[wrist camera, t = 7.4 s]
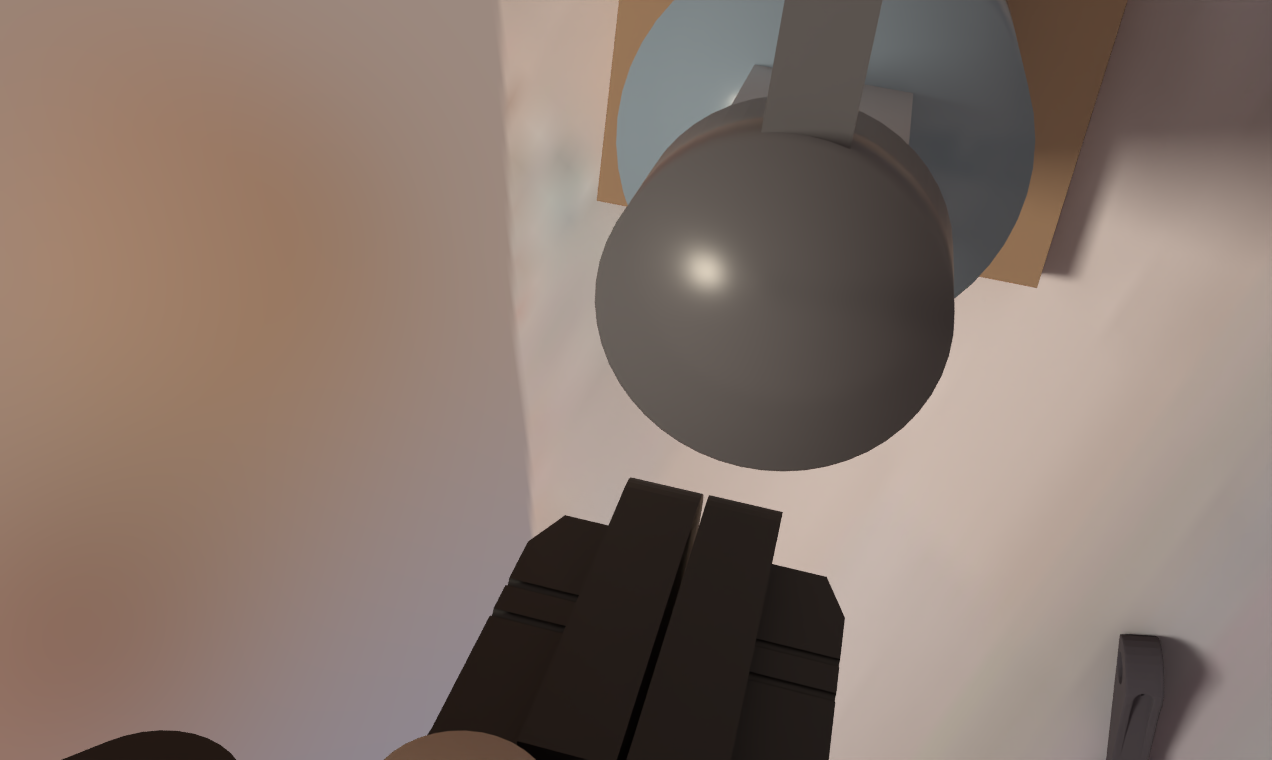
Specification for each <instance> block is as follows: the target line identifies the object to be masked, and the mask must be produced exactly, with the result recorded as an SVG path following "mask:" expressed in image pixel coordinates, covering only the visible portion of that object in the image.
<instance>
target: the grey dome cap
mask: <svg viewBox="0 0 1272 760" xmlns="http://www.w3.org/2000/svg"><path fill="white" fill-rule="evenodd" d="M882 1H883V0H785V1H784V6H783V12H782V18H781V23H780V29H779V35H778V40H777V46H776V51H775V57H774V63H773V68H772V74H771V79H770V85H769V91H768V96H767V97H762V98H756V99H751V100H747V101H744V102H740V103H737V104H733V105H730V106H728V107H726V108H723V109H721V110H719V111H716V112H714V113H712V114H710V115H709V116H707V117H705V118H704V119H702V120H700V121H699V122H697V123H695V124H694V125H693V126H691V127H690V128H689V129H688V130H686V131H685V132H684V133H683V134H681V135H680V136H679V137H678V138H677V139H676V140H675V141H674V142H673V143H672V144H671V145H670V146H669V147H668V148H667V149H666V151H665V152H664V153H663V154H662V156H661V157H660V159H659V160H658V161H657V163H656V164H655V166H654V167H653V168H652V170H651V171H650V173H649V174H648V176H647V177H646V179H645V180H644V182H643V183H642V185H641V186H640V188H639V189H638V191H637V192H636V194H635V195H634V197H633V198H632V200H631V201H630V203H629V204H628V206H627V207H626V209H625V210H624V212H623V213H622V215H621V216H620V218H619V219H618V221H617V222H616V224H615V226H614V228H613V230H612V232H611V234H610V236H609V238H608V240H607V242H606V245H605V248H604V251H603V254H602V256H601V259H600V263H599V268H598V274H597V279H596V291H595V308H596V319H597V326H598V330H599V335H600V339H601V343H602V346H603V349H604V351H605V354H606V357H607V359H608V362H609V364H610V366H611V368H612V370H613V372H614V374H615V376H616V377H617V379H618V381H619V383H620V384H621V386H622V387H623V389H624V390H625V391H626V393H627V394H628V396H629V397H630V399H631V400H632V401H633V402H634V403H635V404H636V405H637V407H638V408H639V409H640V410H641V411H642V412H643V413H644V414H645V415H646V416H647V417H648V418H649V419H650V420H651V421H652V422H654V423H655V424H656V425H657V426H658V427H659V428H660V429H661V430H663V431H664V432H666V433H667V434H669V435H670V436H672V437H673V438H674V439H676V440H677V441H679V442H680V443H682V444H684V445H686V446H688V447H690V448H691V449H693V450H695V451H697V452H699V453H701V454H704V455H706V456H709V457H711V458H714V459H716V460H719V461H722V462H726V463H729V464H733V465H736V466H740V467H746V468H752V469H758V470H768V471H798V470H809V469H815V468H821V467H826V466H830V465H833V464H837V463H840V462H844V461H847V460H849V459H852V458H854V457H856V456H859V455H861V454H863V453H866V452H868V451H870V450H871V449H873V448H875V447H876V446H878V445H880V444H882V443H883V442H885V441H887V440H888V439H889V438H890V437H892V436H893V435H894V434H896V433H897V432H898V431H899V430H901V429H902V428H903V427H904V426H905V425H906V424H907V423H908V422H909V421H910V420H911V419H912V418H913V417H914V416H915V415H916V414H917V413H918V412H919V411H920V409H921V408H922V407H923V405H924V404H925V403H926V401H927V400H928V398H929V397H930V396H931V394H932V392H933V391H934V389H935V387H936V385H937V383H938V381H939V379H940V378H941V376H942V373H943V370H944V368H945V365H946V362H947V359H948V357H949V353H950V348H951V343H952V338H953V330H954V261H953V239H952V228H951V223H950V219H949V214H948V210H947V206H946V204H945V201H944V199H943V196H942V194H941V191H940V189H939V186H938V185H937V183H936V181H935V179H934V178H933V176H932V174H931V172H930V171H929V169H928V167H927V166H926V165H925V163H924V162H923V161H922V160H921V158H920V157H919V156H918V154H917V153H916V152H915V151H914V150H913V149H912V148H911V147H910V146H909V145H908V144H907V143H906V142H905V141H904V140H903V139H902V138H901V137H900V136H899V135H898V134H896V133H895V132H893V131H892V130H891V129H889V128H888V127H887V126H885V125H884V124H883V123H881V122H880V121H878V120H876V119H874V118H872V117H871V116H869V115H867V114H865V113H863V112H861V111H859V107H860V102H861V98H862V93H863V88H864V84H865V79H866V75H867V70H868V65H869V61H870V56H871V52H872V47H873V42H874V38H875V33H876V29H877V24H878V19H879V15H880V10H881V6H882Z"/></svg>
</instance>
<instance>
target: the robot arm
mask: <svg viewBox="0 0 1272 760" xmlns="http://www.w3.org/2000/svg"><path fill="white" fill-rule="evenodd" d="M702 504H703V494H700V493H696V492H692V491H687V490H683V489H679V488H674V487H670V486H666V485H661V484H657V483H653V482H648V481H644V480H640V479H635V478H630V479H629V480H628V482H627V484H626V486H625V488H624V490H623V493H622V495H621V498H620V500H619V502H618V505H617V507H616V509H615V512H614V514H613V516H612V519H611V521H610V523H609V526H608V525H604V524H600V523H595V522H591V521H587V520H583V519H578V518H574V517H570V516H566V515H565V516H563V517H562V518H561V519H559V520H558V521H556V522H555V523H554V524H552V525H551V526H549V527H548V528H547V529H545V530H544V531H542V532H541V533H540V534H538V535H537V536H535V537H534V538H533V539H531V540H530V541H528V543H527V545H526V547H525V549H524V551H523V553H522V554H521V556H520V558H519V560H518V562H517V564H516V566H515V568H514V570H513V572H512V574H511V576H510V578H509V582H508V585H506V586H505V587H504V589H503V591H502V593H501V595H500V597H499V599H498V601H497V603H496V605H495V607H494V610H493V614H492V616H490V617H489V618H488V620H487V622H486V624H485V626H484V628H483V630H482V632H481V634H480V636H479V638H478V640H477V642H476V644H475V646H474V647H473V649H472V651H471V653H470V655H469V657H468V659H467V661H466V663H465V665H464V667H463V669H462V671H461V673H460V674H459V676H458V678H457V680H456V682H455V684H454V686H453V688H452V690H451V692H450V694H449V696H448V698H447V700H446V702H445V704H444V706H443V707H442V710H441V711H440V713H439V715H438V717H437V719H436V721H435V723H434V725H433V727H432V729H431V730H430V732H429V733H428V735H427V736H423V737H420V738H417V739H415V740H413V741H411V742H408V743H406V744H404V745H403V746H401V747H400V748H398V749H397V750H395V751H393V752H392V753H391V754H390V755H389V756H388V757H386V758H385V759H384V760H829V752H830V743H831V735H832V726H833V717H834V708H835V696H836V691H837V682H838V673H839V661H840V655H841V647H842V638H843V629H844V620H845V617H844V615H843V613H842V610H841V608H840V606H839V604H838V601H837V599H836V597H835V595H834V593H833V590H832V588H831V586H830V584H829V581H828V579H827V577H824V576H820V575H816V574H812V573H808V572H803V571H799V570H795V569H791V568H787V567H782V566H778V565H774V564H772V561H773V556H774V551H775V547H776V542H777V537H778V532H779V527H780V523H781V518H782V513H783V512H780V511H775V510H771V509H767V508H762V507H758V506H754V505H749V504H745V503H741V502H736V501H732V500H728V499H723V498H719V497H715V496H710V495H709V497H708V499H707V502H706V506H705V509H704V512H703V515H702V518H701V522H700V516H701V511H702ZM699 522H700V525H699ZM698 527H699V528H698ZM63 760H236V759H235V758H234V757H233V755H232V754H231V753H230V752H228V751H227V750H226V749H225V748H223V747H222V746H221V745H219V744H217V743H215V742H214V741H212V740H210V739H208V738H205V737H202V736H199V735H196V734H192V733H186V732H180V731H163V730H159V731H149V732H140V733H136V734H131V735H126V736H123V737H120V738H117V739H114V740H111V741H108V742H105V743H103V744H100V745H98V746H95V747H93V748H90V749H88V750H85V751H83V752H80V753H78V754H75V755H73V756H70V757H68V758H65V759H63Z"/></svg>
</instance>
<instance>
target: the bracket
mask: <svg viewBox="0 0 1272 760" xmlns="http://www.w3.org/2000/svg"><path fill="white" fill-rule="evenodd" d="M1163 698H1164V667H1163V656H1162V649H1161V645H1160V641H1159V638H1158V637H1156V636H1139V635H1123V634H1121V635H1120V638H1119V648H1118V657H1117V666H1116V675H1115V684H1114V693H1113V702H1112V712H1111V721H1110V730H1109V739H1108V748H1107V757H1106V760H1148V758H1149V754H1150V750H1151V746H1152V742H1153V737H1154V733H1155V729H1156V725H1157V721H1158V717H1159V714H1160V710H1161V708H1162V703H1163Z"/></svg>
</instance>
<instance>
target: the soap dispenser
mask: <svg viewBox="0 0 1272 760" xmlns="http://www.w3.org/2000/svg"><path fill="white" fill-rule="evenodd" d="M784 1H785V0H619V6H618V15H617V24H616V33H615V42H614V51H613V60H612V69H611V78H610V87H609V96H608V105H607V114H606V123H605V132H604V141H603V150H602V159H601V168H600V177H599V186H598V195H597V201H602V202H607V203H612V204H617V205H622V206H628V204H629V203H630V201H631V200H632V198H633V197H634V195H635V194H636V192H637V191H638V189H639V188H640V186H641V185H642V183H643V182H644V180H645V179H646V177H647V176H648V174H649V173H650V171H651V170H652V168H653V167H654V166H655V164H656V163H657V161H658V160H659V159H660V157H661V156H662V154H663V153H664V152H665V151H666V149H667V148H668V147H669V146H670V145H671V144H672V143H673V142H674V141H675V140H676V139H677V138H678V137H679V136H680V135H681V134H683V133H684V132H685V131H686V130H688V129H689V128H690V127H691V126H693V125H694V124H695V123H697V122H699V121H700V120H702V119H704V118H705V117H707V116H709V115H710V114H712V113H714V112H716V111H719V110H721V109H723V108H726V107H728V106H730V105H733V104H737V103H740V102H744V101H747V100H751V99H756V98H762V97H767V96H768V91H769V85H770V79H771V74H772V68H773V63H774V57H775V51H776V46H777V40H778V35H779V29H780V23H781V18H782V12H783V6H784ZM1127 1H1128V0H883V1H882V6H881V10H880V15H879V19H878V24H877V29H876V33H875V38H874V42H873V47H872V52H871V56H870V61H869V65H868V70H867V75H866V79H865V84H864V88H863V93H862V98H861V102H860V107H859V111H861V112H863V113H865V114H867V115H869V116H871V117H872V118H874V119H876V120H878V121H880V122H881V123H883V124H884V125H885V126H887V127H888V128H889V129H891V130H892V131H893V132H895V133H896V134H898V135H899V136H900V137H901V138H902V139H903V140H904V141H905V142H906V143H907V144H908V145H909V146H910V147H911V148H912V149H913V150H914V151H915V152H916V153H917V154H918V156H919V157H920V158H921V160H922V161H923V162H924V163H925V165H926V166H927V167H928V169H929V171H930V172H931V174H932V176H933V178H934V179H935V181H936V183H937V185H938V186H939V189H940V191H941V194H942V196H943V199H944V201H945V204H946V206H947V210H948V214H949V219H950V223H951V228H952V239H953V261H954V298H955V297H957V296H958V295H959V294H960V293H962V292H963V291H964V290H965V289H966V288H968V287H969V286H970V285H971V284H972V283H973V282H974V281H975V280H976V279H977V278H978V277H984V278H989V279H994V280H999V281H1004V282H1009V283H1014V284H1019V285H1024V286H1030V287H1035V288H1037V286H1038V283H1039V279H1040V276H1041V273H1042V270H1043V267H1044V264H1045V260H1046V257H1047V254H1048V251H1049V248H1050V245H1051V241H1052V238H1053V235H1054V232H1055V229H1056V226H1057V222H1058V219H1059V216H1060V213H1061V210H1062V207H1063V203H1064V200H1065V197H1066V194H1067V191H1068V188H1069V185H1070V181H1071V178H1072V175H1073V172H1074V169H1075V166H1076V162H1077V159H1078V156H1079V153H1080V150H1081V147H1082V143H1083V140H1084V137H1085V134H1086V131H1087V128H1088V124H1089V121H1090V118H1091V115H1092V112H1093V109H1094V105H1095V102H1096V99H1097V96H1098V93H1099V90H1100V86H1101V83H1102V80H1103V77H1104V74H1105V71H1106V67H1107V64H1108V61H1109V58H1110V55H1111V52H1112V48H1113V45H1114V42H1115V39H1116V36H1117V33H1118V29H1119V26H1120V23H1121V20H1122V17H1123V14H1124V10H1125V7H1126V4H1127Z"/></svg>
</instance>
